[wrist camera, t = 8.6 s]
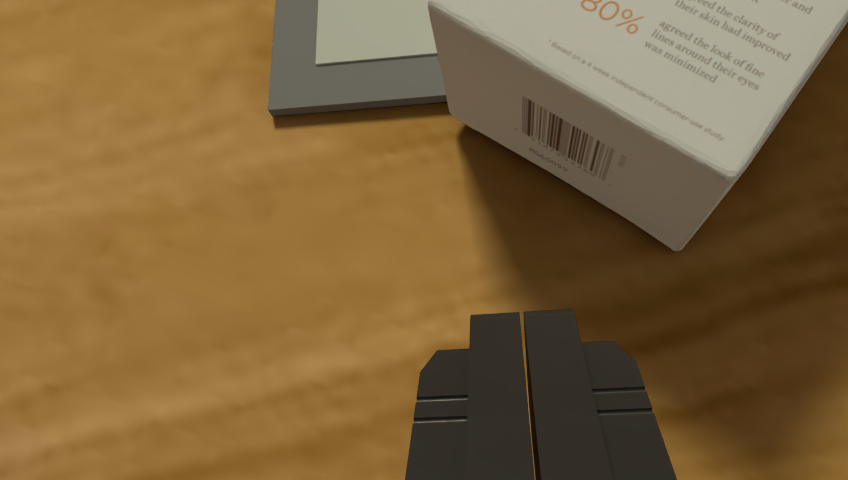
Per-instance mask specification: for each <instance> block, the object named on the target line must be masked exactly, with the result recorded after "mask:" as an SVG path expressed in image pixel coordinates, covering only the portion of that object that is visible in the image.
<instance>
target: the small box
mask: <svg viewBox="0 0 848 480" xmlns="http://www.w3.org/2000/svg"><path fill="white" fill-rule="evenodd" d="M428 11H429V16H430V21H431V26H432V31H433V35H434V40H435V45H436V49H437V54H438V58H439V63H440V68H441V72H442V77H443V81H444V87H445V92H446V97H447V103H448V108H449V113H450V114H451V115H452V116H453V117H454V118H456V119H458V120H459V121H461V122H462V123H464V124H466V125H467V126H469V127H471V128H472V129H474V130H477V131H479V132H480V133H482V134H484V135H486V136H487V137H489V138H491V139H493V140H494V141H496V142H498V143H500V144H501V145H503V146H505V147H506V148H508V149H510V150H512V151H513V152H515V153H517V154H519V155H520V156H522V157H524V158H526V159H527V160H529V161H531V162H533V163H534V164H536V165H538V166H540V167H541V168H543V169H545V170H547V171H549V172H550V173H552V174H553V175H555V176H557V177H558V178H560V179H562V180H563V181H565V182H567V183H568V184H570V185H572V186H573V187H575V188H577V189H578V190H580V191H581V192H583V193H585V194H586V195H588V196H590V197H591V198H593V199H595V200H596V201H598V202H600V203H601V204H603V205H604V206H606V207H608V208H609V209H611V210H613V211H614V212H616V213H618V214H619V215H621V216H622V217H624V218H626V219H627V220H629V221H630V222H632V223H634V224H635V225H637V226H638V227H640V228H641V229H643V230H644V231H646V232H647V233H649V234H650V235H652V236H653V237H655V238H656V239H657V240H659V241H660V242H662V243H663V244H665V245H666V246H668V247H669V248H671V249H672V250H674V251H680V250H682V249H683V248H684V247H685V245H686V244H687V243H688V242H689V241H690V239H691V238H692V237H693V235H694V234H695V233H696V232H697V230H698V229H699V228H700V227H701V225H702V224H703V223H704V222H705V220H706V219H707V218H708V217H709V215H710V214H711V213H712V212H713V210H714V209H715V208H716V207H717V205H718V204H719V203H720V202H721V200H722V199H723V198H724V196H725V195H726V194H727V193H728V191H729V190H730V189H731V188H732V186H733V185H734V184H735V182H736V181H737V180H738V179H739V177H740V176H741V175H742V174H743V172H744V171H745V170H746V168H747V167H748V166H749V164H750V163H751V162H752V160H753V159H754V157H755V156H756V154H757V153H758V151H759V150H760V149H761V147H762V146H763V144H764V143H765V141H766V140H767V138H768V137H769V136H770V134H771V133H772V131H773V130H774V128H775V127H776V125H777V124H778V123H779V121H780V120H781V118H782V117H783V115H784V114H785V112H786V111H787V109H788V108H789V107H790V105H791V104H792V102H793V101H794V99H795V98H796V96H797V95H798V93H799V92H800V91H801V89H802V88H803V86H804V85H805V83H806V82H807V80H808V79H809V77H810V76H811V74H812V73H813V72H814V70H815V69H816V67H817V66H818V64H819V63H820V61H821V60H822V58H823V57H824V56H825V54H826V53H827V51H828V50H829V48H830V47H831V45H832V44H833V42H834V41H835V40H836V38H837V37H838V35H839V34H840V32H841V31H842V29H843V28H844V26H845V25H846V24H847V22H848V0H428Z"/></svg>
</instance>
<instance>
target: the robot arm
mask: <svg viewBox="0 0 848 480" xmlns="http://www.w3.org/2000/svg"><path fill="white" fill-rule="evenodd" d="M524 331H525V347H526V363H527V378H528V394H529V408H530V422H531V434H532V445H533V455H534V466H535V477H536V480H677V479H676V476H675V473H674V470H673V467H672V464H671V461H670V458H669V455H668V453H667V450H666V447H665V444H664V441H663V438H662V435H661V432H660V430H659V427H658V424H657V421H656V418H655V415H654V413H652V407H651V404H650V401H649V398H648V395H647V392H645V386H644V383H643V381H642V378H641V375H640V372H639V369H638V366H637V363H636V361H635V360H634V359H633V358H632V357H630V356H629V355H628V354H627V353H626V352H625V351H624V350H623V349H622V348H621V347H620V346H618V345H617V344H616V343H615V342H614V341H601V342H582V343H581V339H580V335H579V331H578V327H577V322H576V318H575V314H574V310H573V309H562V310H545V311H528V312H524ZM532 445H531V435H530V424H529V413H528V402H527V391H526V380H525V369H524V359H523V348H522V337H521V326H520V315H519V312H514V313H497V314H479V315H471V317H470V346H469V349H453V350H437V351H436V353H435V354H434V355H433V356H432V358H431V359H430V360H429V362H428V363H427V364H426V365H425V367H424V368H423V369H422V370H421V372H420V377H419V384H418V391H417V402H416V406H415V413H414V423H413V427H412V434H411V441H410V448H409V456H408V463H407V470H406V477H405V480H535V478H534V467H533V456H532Z"/></svg>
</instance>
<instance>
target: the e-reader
mask: <svg viewBox="0 0 848 480" xmlns="http://www.w3.org/2000/svg"><path fill="white" fill-rule="evenodd" d="M439 102H447V97H446V92H445V87H444V81H443V77H442V72H441V68H440V63H439V58H438V54H437V49H436V45H435V40H434V35H433V31H432V26H431V21H430V16H429V11H428V0H276V4H275V18H274V32H273V47H272V61H271V75H270V89H269V104H268V111H269V112H270V114H271V115H272V116H282V115H294V114H306V113H318V112H330V111H342V110H354V109H366V108H378V107H390V106H402V105H415V104H427V103H439Z"/></svg>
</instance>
